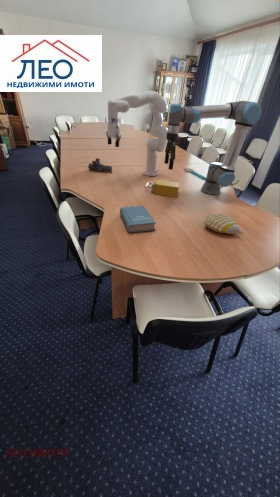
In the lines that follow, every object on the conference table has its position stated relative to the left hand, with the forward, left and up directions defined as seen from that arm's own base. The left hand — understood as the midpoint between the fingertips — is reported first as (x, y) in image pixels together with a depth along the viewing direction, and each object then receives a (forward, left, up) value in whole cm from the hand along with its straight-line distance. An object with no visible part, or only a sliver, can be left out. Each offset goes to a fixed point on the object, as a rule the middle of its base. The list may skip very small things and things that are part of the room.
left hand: (113, 145), depth 172 cm
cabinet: (-25, +39, -30) cm, 55 cm away
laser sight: (-5, -32, -30) cm, 44 cm away
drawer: (-21, +35, -29) cm, 50 cm away
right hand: (-16, +47, -5) cm, 50 cm away
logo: (-87, +17, -30) cm, 93 cm away
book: (+24, +65, -30) cm, 75 cm away
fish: (-16, +100, -30) cm, 106 cm away
